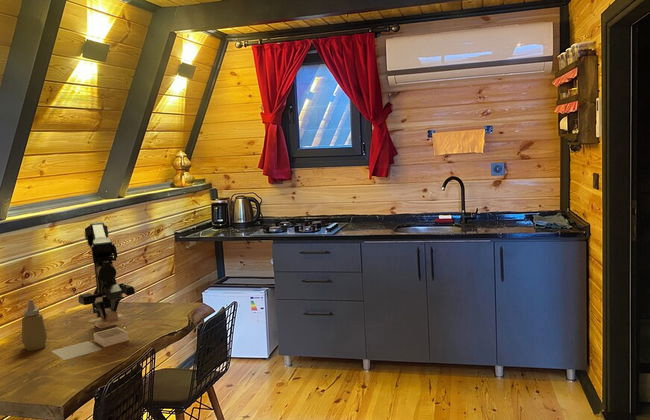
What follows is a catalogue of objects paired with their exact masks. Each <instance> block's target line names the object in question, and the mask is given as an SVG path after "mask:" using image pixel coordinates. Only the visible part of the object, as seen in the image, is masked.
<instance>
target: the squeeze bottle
mask: <svg viewBox="0 0 650 420" xmlns="http://www.w3.org/2000/svg"><path fill="white" fill-rule="evenodd" d="M23 313H24V316H23V317H22V318H21V342H22V344H23V347H24V348H25V349H26V350H27V351H37V350H41V349H43V348H45V346H46V342H47V339H48V335H47V330H46V326H45V321H44V318H43V315H42V314H41V313H40V308H39V307H38V308H36V306H35V304H34V301H33V299H28V303H27V308H26V309H25V310H24V311H23Z"/></svg>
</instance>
